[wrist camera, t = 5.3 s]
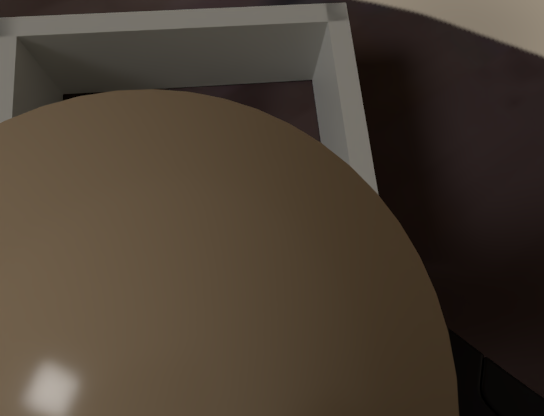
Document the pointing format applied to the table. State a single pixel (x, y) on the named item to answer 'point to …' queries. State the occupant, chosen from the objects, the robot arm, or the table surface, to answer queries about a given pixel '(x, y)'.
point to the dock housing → (192, 60)
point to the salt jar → (204, 270)
